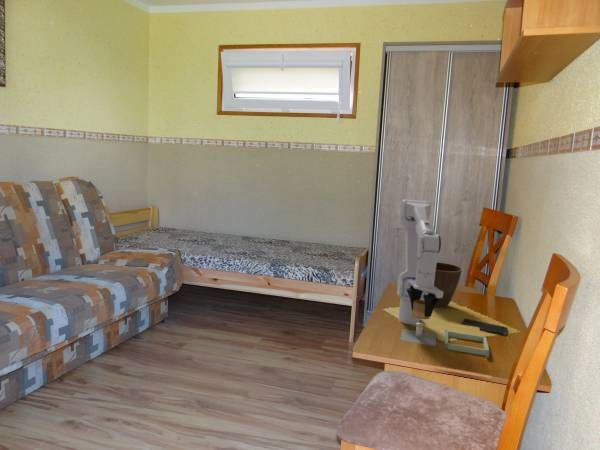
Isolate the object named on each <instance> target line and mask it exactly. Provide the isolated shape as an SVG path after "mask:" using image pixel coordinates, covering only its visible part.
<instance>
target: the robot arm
mask: <svg viewBox="0 0 600 450" xmlns="http://www.w3.org/2000/svg"><path fill="white" fill-rule="evenodd" d="M399 211H400V212H399V213H400V219H399V220H400V224H401V225H403V226H404V228H405V271H403V272H402V273H400V274H399V275H398V277H397V283H396V294H397V296H398V297H399V298H400V301H399V309H398V310H399V311H398V317H397V318H398V321H399V322H400V323H402V324H406V325H416V323H420V319H418V318H415V317H413V316H412V313H413V304H414V300H424V301H425V317H432V314H433V312H434V310H435V308H436V307H435V306H436V304H437V303H438V301H439V300H440V299H441V298H443V291H441V290H439V289H437V288H436V287H434V280H435V272H436V263H437V262H438V254H439V253H440V252H441V250H442V236H441V235H440V234H438V233H436V230H435V228H434V224H433V223H432V222H431V221H430V220H429V218H430V215H431V212H432V204H431V202H430V201H429V200H415V199H406V198H404V199H403V200H402V201H401V204H400V210H399ZM428 293H429V295H427V294H428Z"/></svg>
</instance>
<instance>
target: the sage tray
mask: <svg viewBox="0 0 600 450" xmlns="http://www.w3.org/2000/svg"><path fill="white" fill-rule="evenodd" d="M449 337H450V338H456V339H463V340H467V341H469V340H470V341H474V342H475V341H476V342H480V343H482V345H483V348H479V347H474V346H468V345H462V344H461V345H460V344H456V343H449ZM444 350H451V351H455V352H461V353H462V352H463V353H467V354H472V355H480V356H484V357H485V358H486V359H489V356H490V348H489V344H488V341H487V337H486V336H484V335H479V334H478V335H477V334H471V333H464V332H459V331H453V330H446V329H445V330H444Z"/></svg>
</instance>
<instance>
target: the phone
mask: <svg viewBox="0 0 600 450" xmlns="http://www.w3.org/2000/svg"><path fill="white" fill-rule="evenodd" d="M460 325H461V326H468V327H475V328H479V331H480V332H484V333H491V334H493V335H494V334H495V335H499V336H506V335H507V334H508V330H509V329H508V327H505V326H503V325H499V324H498V325H497V324H494V323H487V322H484V321H479V320H475V319H474V320H473V319H470V318H463V320H462V322H460Z"/></svg>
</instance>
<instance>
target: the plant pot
mask: <svg viewBox="0 0 600 450" xmlns="http://www.w3.org/2000/svg"><path fill="white" fill-rule="evenodd" d="M462 272H463V269H462V267H460V266H458V265H455V264H451V263H446V262H438V261H437V263H436V272H435V280H434V287H436V288H437V289H439V290H441V291H443V298H441V299H440V300H439V301H438V303H437V304H436V306H435V308H437V309H439V308H440V309H446V308H448V306H449V305H450V303H451V300H452V299H453V297H454V294H455V293H456V290H457V287H458V285H459V283H460V278H461V275H462ZM427 295H429V293H428V294H427Z"/></svg>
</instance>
